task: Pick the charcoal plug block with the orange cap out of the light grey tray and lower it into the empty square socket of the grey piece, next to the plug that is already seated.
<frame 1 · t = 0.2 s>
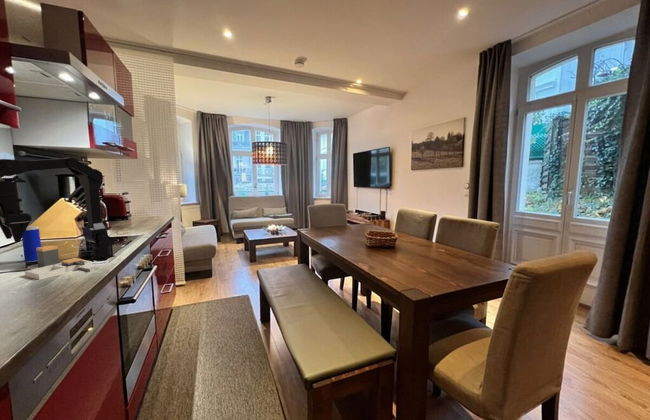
hand: (13, 240, 94), 14 cm above the worktop, tool pointing down, fingers open, 9 cm apart
tray: (49, 267, 107), on the worktop
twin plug: (72, 268, 107), resting in grey piece
plug: (49, 266, 107), resting on tray
beverage can: (34, 261, 115), on the worktop
grey piece: (60, 271, 103), on the worktop
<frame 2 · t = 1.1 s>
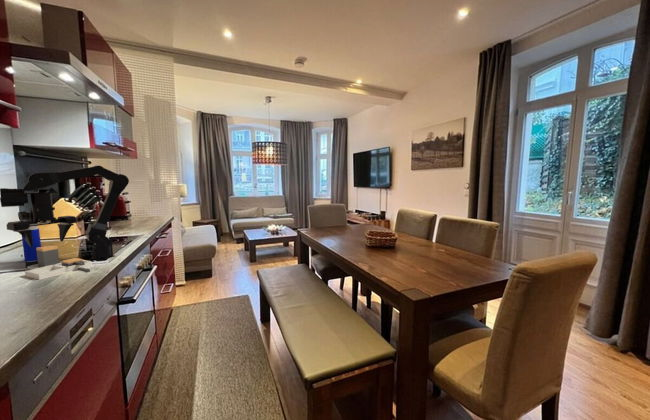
hand: (47, 243, 106), 10 cm above the worktop, tool pointing down, fingers open, 9 cm apart
nothing on the worktop moved.
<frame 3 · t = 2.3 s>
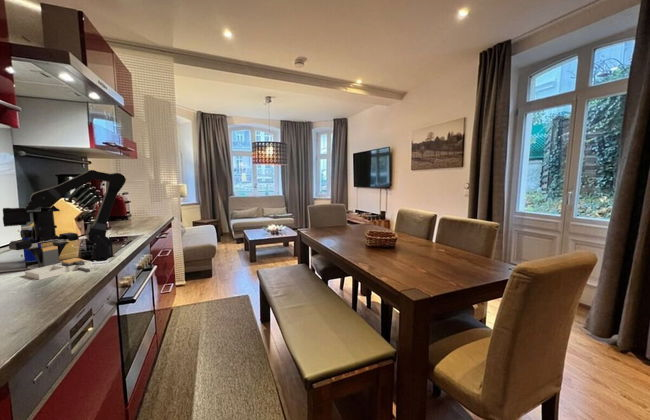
hand: (48, 261, 107), 2 cm above the worktop, tool pointing down, fingers closed on plug, 4 cm apart
plug: (49, 266, 107), resting on tray, touching gripper
everything else where it was.
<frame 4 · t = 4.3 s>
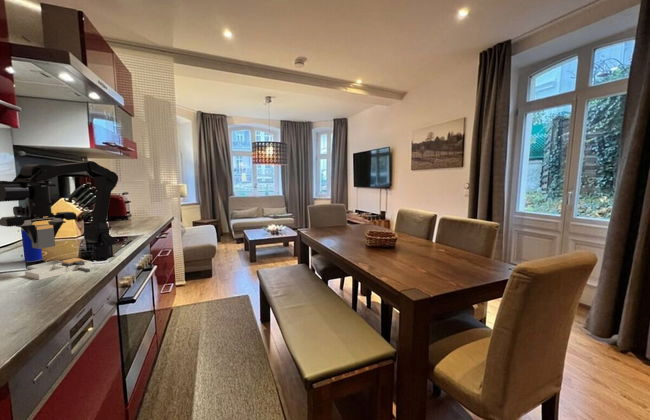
hand: (43, 241, 98), 13 cm above the worktop, tool pointing down, fingers closed on plug, 4 cm apart
plug: (44, 246, 99), point 11 cm above the worktop, touching gripper
everything else where it was.
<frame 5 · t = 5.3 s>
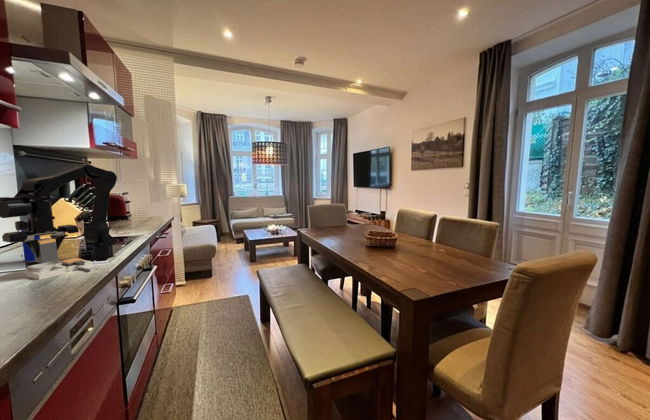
hand: (46, 255, 99), 7 cm above the worktop, tool pointing down, fingers closed on plug, 4 cm apart
plug: (46, 260, 99), point 5 cm above the worktop, touching gripper
everything else where it was.
when the fingers open (4 cm above the worktop, at t = 6.2 s): plug drops 2 cm, resting on grey piece.
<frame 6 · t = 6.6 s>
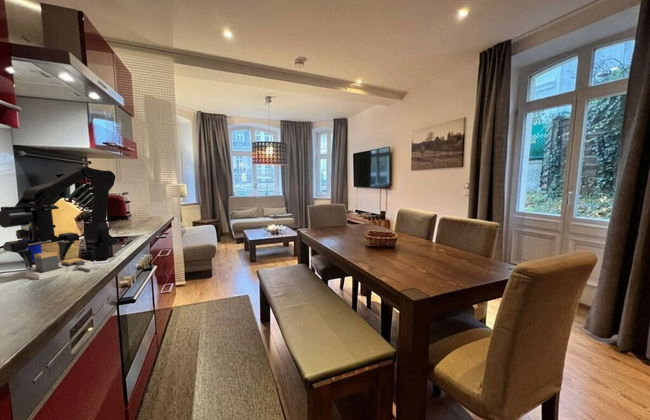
hand: (46, 263, 99), 4 cm above the worktop, tool pointing down, fingers open, 8 cm apart
plug: (48, 274, 100), resting on grey piece
everything else where it was.
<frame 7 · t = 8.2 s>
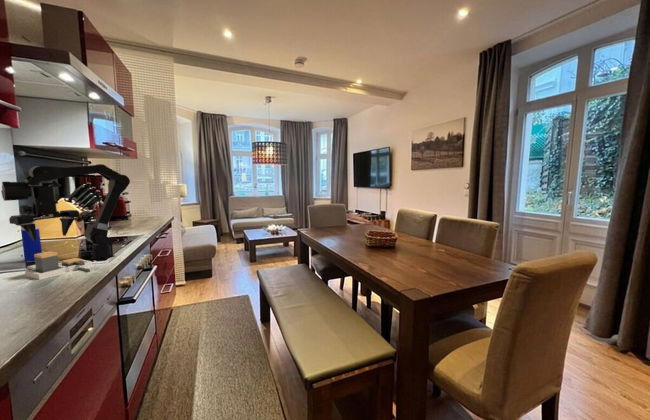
hand: (50, 238, 105), 12 cm above the worktop, tool pointing down, fingers open, 9 cm apart
nothing on the worktop moved.
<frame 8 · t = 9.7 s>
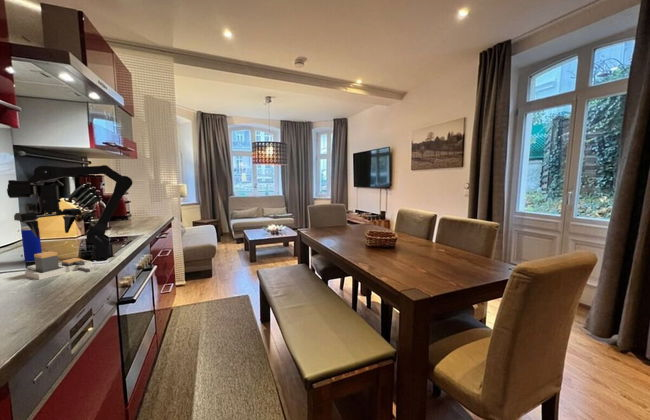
hand: (52, 235, 109), 13 cm above the worktop, tool pointing down, fingers open, 9 cm apart
nothing on the worktop moved.
at the end: plug 0.1 cm from the target spot on the grey piece, point 0.2 cm above the grey piece's base; plug tilted 0°; the gripper is holding nothing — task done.
